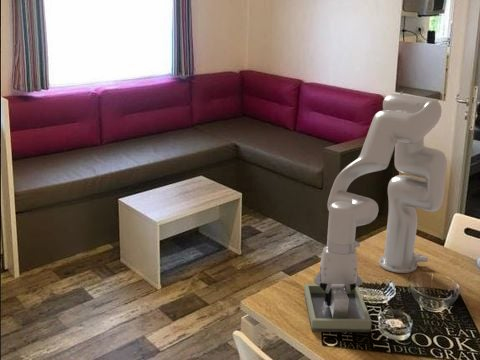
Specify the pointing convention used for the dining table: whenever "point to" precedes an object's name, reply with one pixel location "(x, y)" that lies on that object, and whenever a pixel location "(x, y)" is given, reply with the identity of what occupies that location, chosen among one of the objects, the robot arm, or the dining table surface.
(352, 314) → the case
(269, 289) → the dining table surface
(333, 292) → the bar
